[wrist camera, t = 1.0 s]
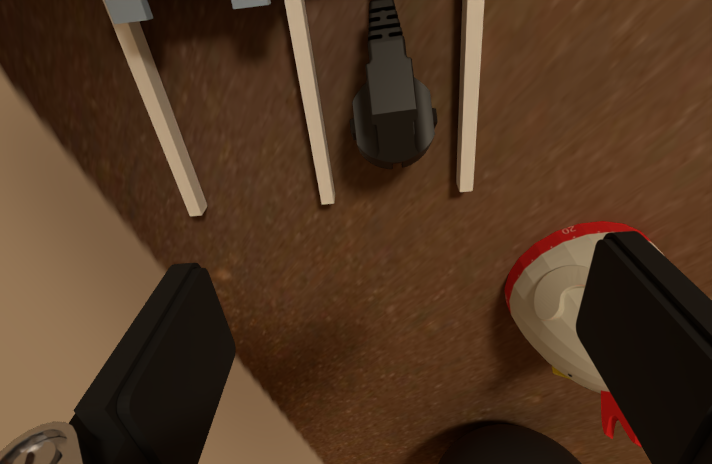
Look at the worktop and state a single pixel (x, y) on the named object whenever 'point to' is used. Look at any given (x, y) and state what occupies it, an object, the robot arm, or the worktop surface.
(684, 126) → the worktop surface
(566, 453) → the coal bowl
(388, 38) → the power plug
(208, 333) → the robot arm
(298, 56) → the cable organizer
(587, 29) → the worktop surface
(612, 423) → the kitchen timer
